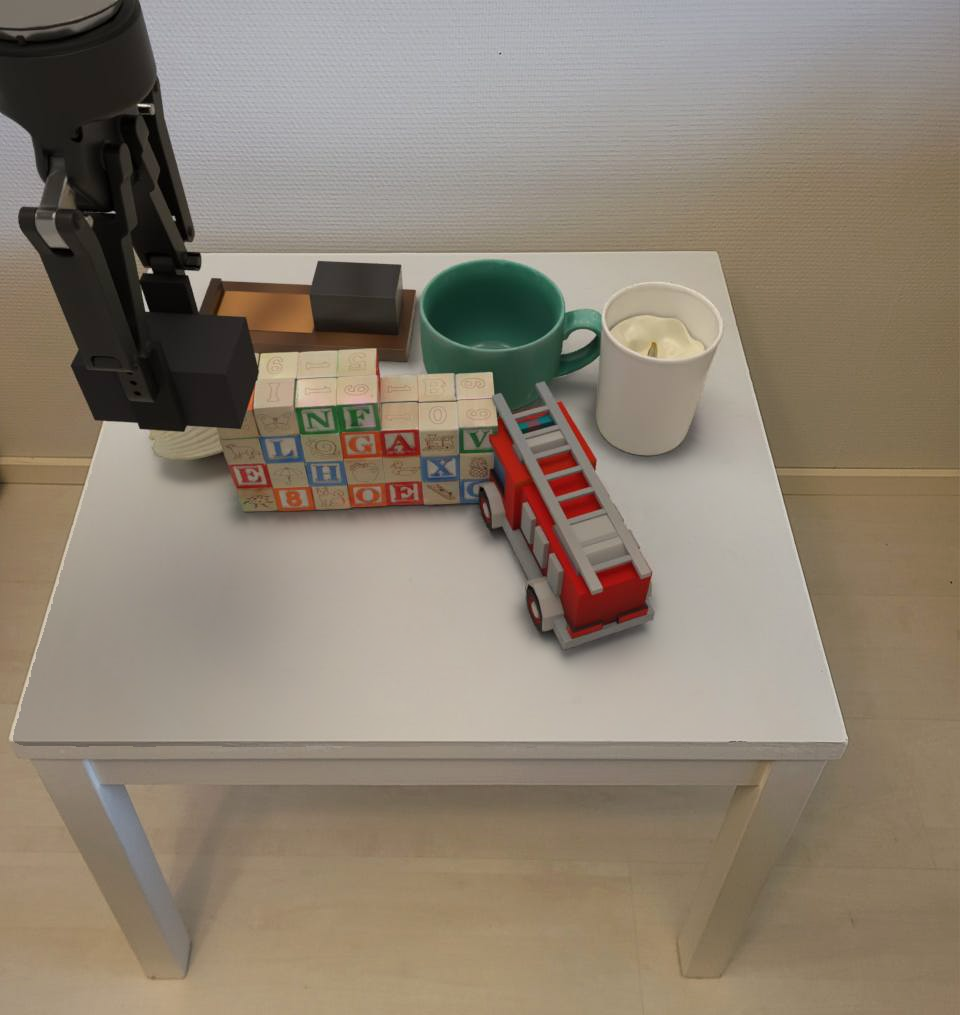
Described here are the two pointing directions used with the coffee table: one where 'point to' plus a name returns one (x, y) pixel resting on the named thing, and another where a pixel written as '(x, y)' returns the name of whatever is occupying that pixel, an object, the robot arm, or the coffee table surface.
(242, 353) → the black block
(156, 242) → the robot arm
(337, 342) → the brown wooden tray
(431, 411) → the stack of blocks
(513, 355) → the mug
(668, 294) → the candle holder
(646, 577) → the toy fire truck
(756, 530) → the coffee table surface
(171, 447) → the seashell
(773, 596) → the coffee table surface
